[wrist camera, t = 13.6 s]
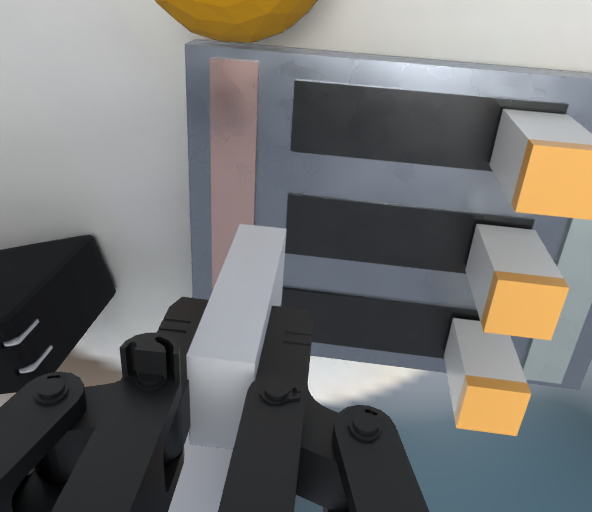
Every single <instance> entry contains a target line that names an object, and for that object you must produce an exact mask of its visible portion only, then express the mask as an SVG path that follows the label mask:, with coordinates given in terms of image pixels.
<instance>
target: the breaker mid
mask: <svg viewBox="0 0 592 512" xmlns="http://www.w3.org/2000/svg"><path fill="white" fill-rule="evenodd" d="M466 274H467V277H468V280H469V284H470V287H471V291H472V294H473V298H474V301H475V304H476V308H477V311H478V315H479V318H480V322H481V325H482V328H483V332H486V333H494V334H502V335H511V336H519V337H527V338H535V339H543V340H551V339H552V336H553V333H554V331H555V328H556V325H557V322H558V319H559V316H560V313H561V310H562V308H563V305H564V302H565V299H566V296H567V293H568V290H569V286H568V285H567V283H566V281H565V280H564V278H563V276H562V275H561V273H560V271H559V269H558V268H557V266H556V264H555V263H554V261H553V259H552V258H551V256H550V254H549V253H548V251H547V249H546V247H545V246H544V244H543V242H542V241H541V239H540V237H539V236H538V234H537V232H536V230H531V229H521V228H512V227H503V226H493V225H484V224H476V228H475V232H474V236H473V240H472V245H471V249H470V253H469V257H468V261H467V266H466Z"/></svg>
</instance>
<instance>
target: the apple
mask: <svg viewBox="0 0 592 512" xmlns="http://www.w3.org/2000/svg"><path fill="white" fill-rule="evenodd" d="M155 1H156V3H158V4H159V5H160V6H161V7H162V8H163V9H164V10H165V11H167V12H168V13H169V14H170V15H171V16H172V17H173V18H175V19H176V20H177V21H178V22H179V23H181V24H182V25H183V26H184V27H186V28H187V29H188V30H189V31H190V32H192V33H195V34H198V35H202V36H205V37H208V38H211V39H214V40H219V41H224V42H255V41H260V40H262V39H265V38H267V37H270V36H273V35H275V34H279V33H281V32H283V31H284V30H286V29H288V28H289V27H291V26H292V25H294V24H295V23H296V22H297V21H298V20H300V19H301V18H302V17H303V16H304V15H305V14H306V13H308V12H309V11H310V9H311V8H312V7H313V5H314V4H315V3H316V1H317V0H155Z"/></svg>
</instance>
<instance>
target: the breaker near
mask: <svg viewBox="0 0 592 512" xmlns="http://www.w3.org/2000/svg"><path fill="white" fill-rule="evenodd" d="M490 167H491V169H492V171H493V173H494V175H495V176H496V178H497V180H498V182H499V184H500V185H501V187H502V189H503V191H504V193H505V194H506V196H507V198H508V200H509V202H510V203H511V205H512V207H513V209H514V211H515V212H520V213H529V214H539V215H549V216H558V217H568V218H577V219H587V220H592V134H591V133H590V132H589V131H588V130H587V129H585V128H584V127H583V126H582V125H580V124H579V123H578V122H577V121H575V120H574V119H573V118H572V117H571V116H569V115H566V114H555V113H544V112H533V111H522V110H511V109H503V110H502V115H501V119H500V123H499V127H498V131H497V136H496V140H495V144H494V148H493V152H492V157H491V161H490Z"/></svg>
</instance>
